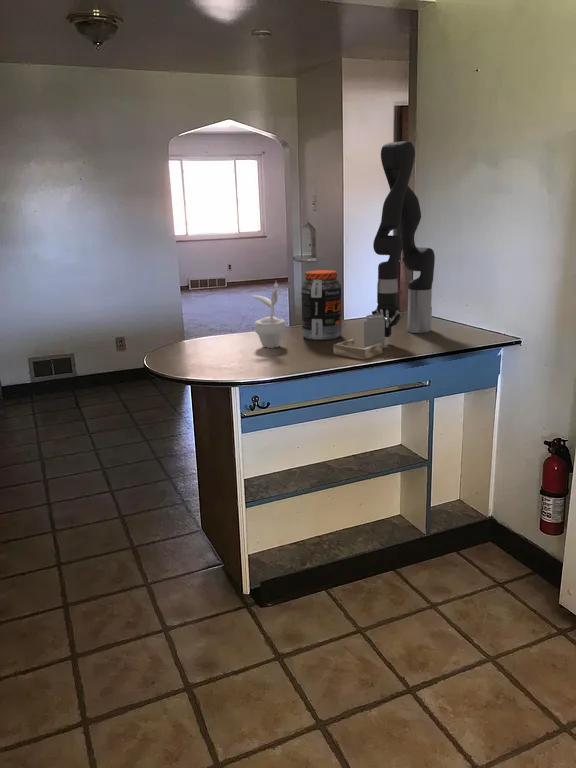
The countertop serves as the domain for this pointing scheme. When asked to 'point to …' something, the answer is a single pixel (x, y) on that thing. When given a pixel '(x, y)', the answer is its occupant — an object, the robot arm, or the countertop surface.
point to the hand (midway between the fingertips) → (386, 336)
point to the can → (374, 330)
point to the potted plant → (270, 323)
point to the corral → (356, 350)
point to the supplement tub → (321, 305)
